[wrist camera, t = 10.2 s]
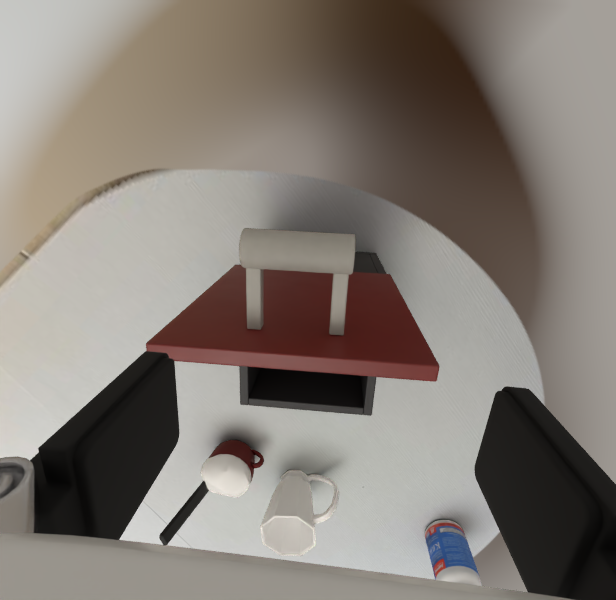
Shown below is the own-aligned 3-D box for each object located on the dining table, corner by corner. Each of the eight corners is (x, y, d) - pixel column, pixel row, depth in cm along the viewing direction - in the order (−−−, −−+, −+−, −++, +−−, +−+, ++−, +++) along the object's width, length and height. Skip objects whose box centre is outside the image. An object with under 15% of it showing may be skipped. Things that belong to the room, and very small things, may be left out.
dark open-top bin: (363, 363, 42) (371, 415, 33) (260, 355, 43) (240, 404, 34) (376, 252, 38) (388, 277, 29) (260, 246, 39) (236, 267, 29)
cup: (262, 470, 49) (248, 524, 41) (326, 448, 47) (324, 500, 39) (285, 505, 51) (276, 563, 43) (348, 486, 49) (350, 543, 41)
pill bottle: (425, 516, 50) (446, 594, 40) (465, 519, 49) (494, 597, 40) (422, 544, 51) (441, 624, 42) (460, 547, 51) (487, 628, 42)
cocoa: (268, 436, 47) (246, 518, 36) (265, 472, 49) (244, 560, 38) (199, 427, 47) (155, 505, 36) (199, 463, 50) (159, 548, 38)
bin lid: (437, 382, 15) (462, 251, 13) (146, 359, 15) (130, 231, 14) (389, 283, 28) (398, 212, 26) (235, 273, 29) (233, 203, 27)
